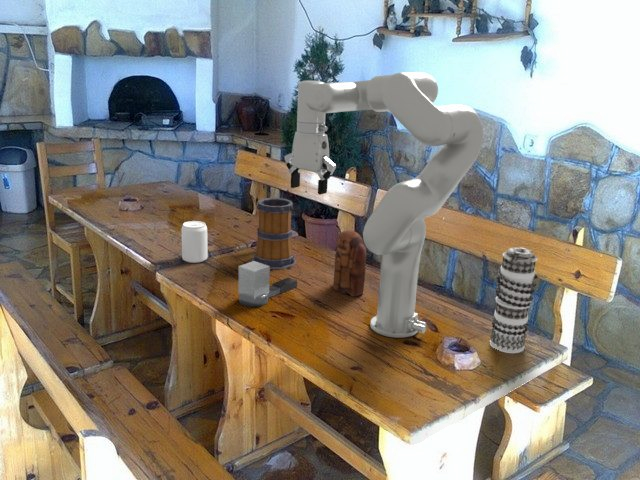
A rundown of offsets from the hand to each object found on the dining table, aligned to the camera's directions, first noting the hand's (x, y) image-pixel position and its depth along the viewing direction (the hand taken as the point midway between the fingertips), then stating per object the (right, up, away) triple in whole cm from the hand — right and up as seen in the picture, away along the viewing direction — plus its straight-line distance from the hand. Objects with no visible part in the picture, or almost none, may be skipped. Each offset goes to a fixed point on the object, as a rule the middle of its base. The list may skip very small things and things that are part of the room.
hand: (308, 190), depth 180 cm
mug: (-13, -20, +35) cm, 42 cm away
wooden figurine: (+11, -29, +12) cm, 33 cm away
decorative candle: (+50, -40, -18) cm, 66 cm away
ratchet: (-11, -29, +6) cm, 32 cm away
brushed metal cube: (-15, -28, +1) cm, 32 cm away
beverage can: (-37, -20, +31) cm, 53 cm away
